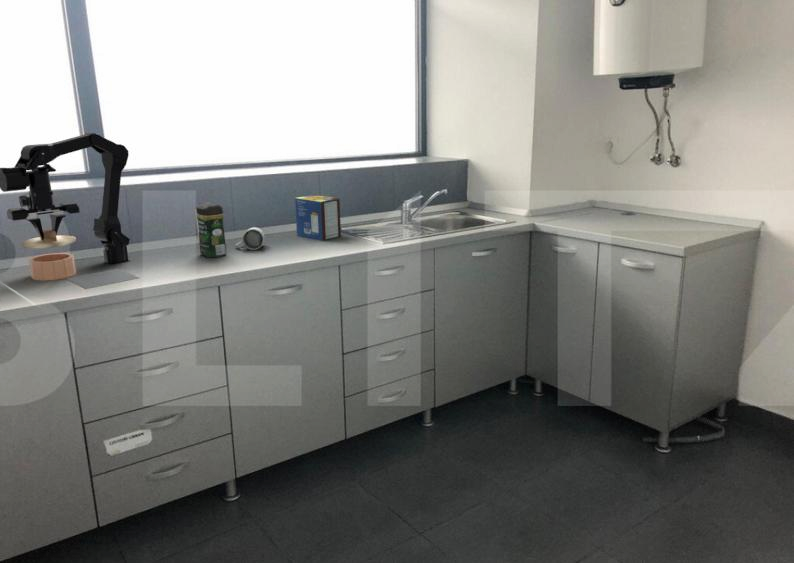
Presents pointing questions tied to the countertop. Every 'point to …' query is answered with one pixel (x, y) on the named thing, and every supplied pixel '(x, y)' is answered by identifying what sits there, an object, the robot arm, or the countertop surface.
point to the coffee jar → (211, 229)
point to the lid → (48, 240)
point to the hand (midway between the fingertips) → (48, 238)
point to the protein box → (318, 217)
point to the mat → (102, 278)
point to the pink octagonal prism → (52, 266)
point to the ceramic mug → (252, 239)
